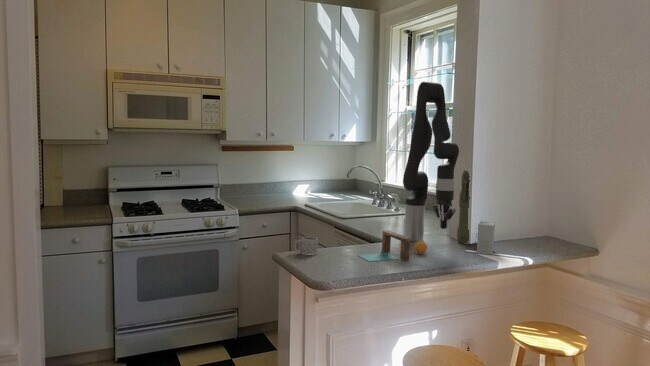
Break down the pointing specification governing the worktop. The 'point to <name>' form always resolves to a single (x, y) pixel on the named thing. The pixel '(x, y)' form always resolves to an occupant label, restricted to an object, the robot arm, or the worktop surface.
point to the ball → (420, 247)
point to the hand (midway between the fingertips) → (443, 228)
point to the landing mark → (378, 257)
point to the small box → (485, 237)
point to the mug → (307, 245)
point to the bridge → (404, 244)
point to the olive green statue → (463, 209)
